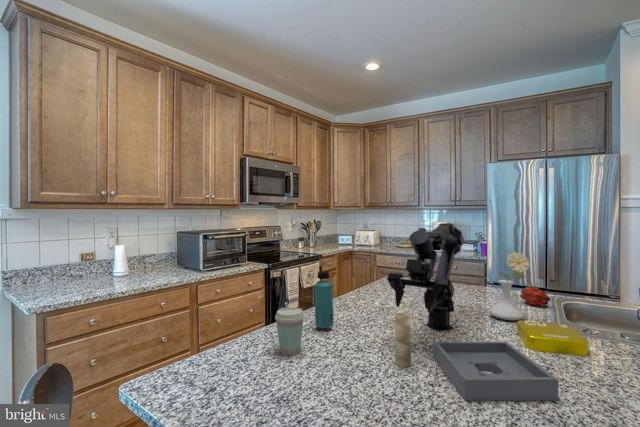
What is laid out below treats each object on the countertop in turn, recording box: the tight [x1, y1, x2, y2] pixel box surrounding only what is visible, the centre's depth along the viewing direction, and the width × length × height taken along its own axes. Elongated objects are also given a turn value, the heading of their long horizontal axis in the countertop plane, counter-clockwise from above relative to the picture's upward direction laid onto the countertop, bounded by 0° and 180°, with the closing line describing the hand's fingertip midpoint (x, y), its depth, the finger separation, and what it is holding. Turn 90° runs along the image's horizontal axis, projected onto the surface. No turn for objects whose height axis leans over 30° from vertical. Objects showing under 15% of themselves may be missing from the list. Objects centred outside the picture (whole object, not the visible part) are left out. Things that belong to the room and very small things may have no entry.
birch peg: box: [394, 312, 412, 368], centre depth 87 cm, size 4×4×13 cm
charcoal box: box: [433, 341, 559, 401], centre depth 80 cm, size 20×20×4 cm
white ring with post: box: [374, 294, 394, 308], centre depth 142 cm, size 9×8×4 cm
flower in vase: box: [489, 251, 530, 321], centre depth 122 cm, size 13×11×25 cm
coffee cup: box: [274, 306, 305, 357], centre depth 95 cm, size 8×8×12 cm
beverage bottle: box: [314, 270, 334, 329], centre depth 113 cm, size 6×7×20 cm
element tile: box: [516, 319, 589, 357], centre depth 99 cm, size 15×15×5 cm
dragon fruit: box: [519, 285, 552, 308], centre depth 137 cm, size 8×8×12 cm
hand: (412, 309), depth 92 cm, fingers open, 9 cm apart
